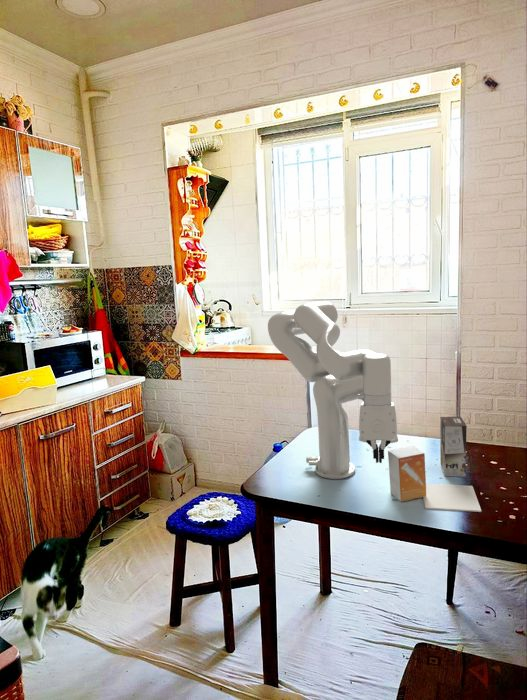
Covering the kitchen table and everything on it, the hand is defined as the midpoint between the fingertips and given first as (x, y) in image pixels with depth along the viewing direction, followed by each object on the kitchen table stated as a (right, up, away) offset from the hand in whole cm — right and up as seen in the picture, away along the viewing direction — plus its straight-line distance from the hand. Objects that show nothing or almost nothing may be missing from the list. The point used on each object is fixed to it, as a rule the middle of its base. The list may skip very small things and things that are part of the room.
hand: (378, 460), depth 141 cm
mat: (+19, -10, -3) cm, 21 cm away
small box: (+8, -10, 0) cm, 13 cm away
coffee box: (+26, -6, +14) cm, 30 cm away
